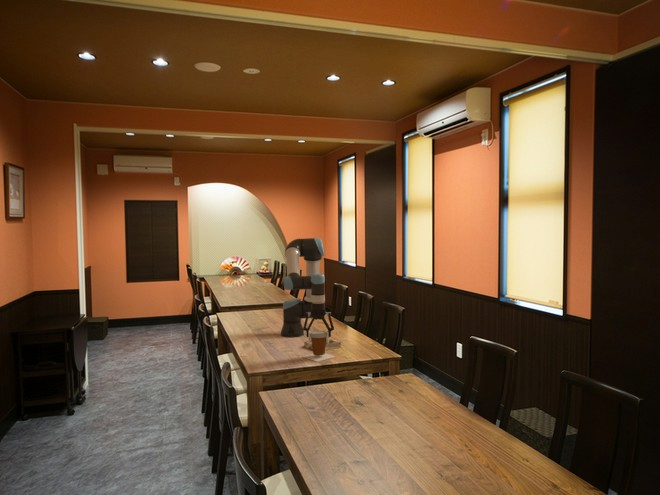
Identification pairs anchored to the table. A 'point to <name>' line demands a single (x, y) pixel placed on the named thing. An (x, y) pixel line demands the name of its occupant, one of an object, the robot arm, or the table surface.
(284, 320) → the robot arm
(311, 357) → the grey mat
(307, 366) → the table surface
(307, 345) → the square wooden tray
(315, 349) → the disposable coffee cup
